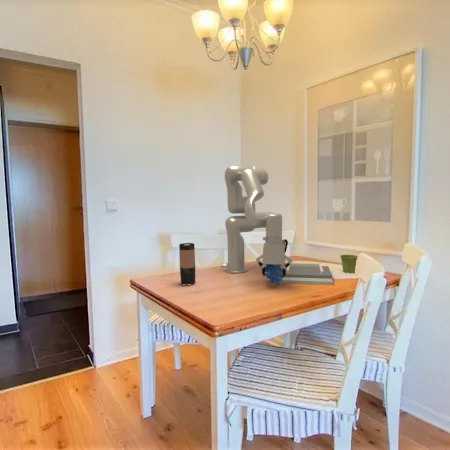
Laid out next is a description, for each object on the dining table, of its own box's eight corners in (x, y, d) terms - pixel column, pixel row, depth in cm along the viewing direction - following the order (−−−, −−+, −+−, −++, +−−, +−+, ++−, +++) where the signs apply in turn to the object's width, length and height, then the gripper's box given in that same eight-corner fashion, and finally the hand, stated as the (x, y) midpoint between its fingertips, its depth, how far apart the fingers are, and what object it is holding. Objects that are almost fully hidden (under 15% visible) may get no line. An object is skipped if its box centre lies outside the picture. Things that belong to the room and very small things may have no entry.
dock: (277, 282, 167) (277, 273, 167) (281, 270, 194) (280, 262, 194) (333, 284, 161) (333, 275, 161) (328, 271, 189) (328, 263, 188)
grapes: (257, 282, 165) (258, 258, 164) (267, 280, 169) (268, 256, 168) (275, 288, 156) (276, 262, 155) (285, 285, 160) (286, 260, 159)
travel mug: (198, 282, 172) (197, 243, 170) (190, 286, 165) (189, 245, 163) (185, 281, 175) (184, 242, 173) (177, 284, 168) (176, 244, 166)
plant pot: (359, 270, 189) (359, 255, 188) (356, 274, 181) (356, 258, 180) (342, 269, 194) (342, 254, 193) (338, 272, 186) (338, 256, 185)
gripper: (254, 240, 157) (254, 277, 159) (292, 241, 153) (292, 279, 155) (256, 238, 164) (256, 273, 166) (293, 239, 161) (292, 275, 162)
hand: (273, 276), depth 161 cm, fingers closed on grapes, 8 cm apart
